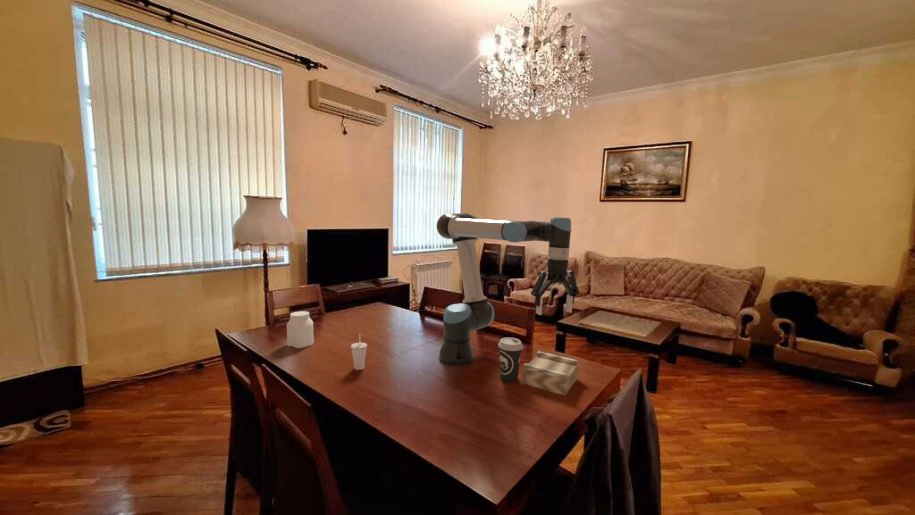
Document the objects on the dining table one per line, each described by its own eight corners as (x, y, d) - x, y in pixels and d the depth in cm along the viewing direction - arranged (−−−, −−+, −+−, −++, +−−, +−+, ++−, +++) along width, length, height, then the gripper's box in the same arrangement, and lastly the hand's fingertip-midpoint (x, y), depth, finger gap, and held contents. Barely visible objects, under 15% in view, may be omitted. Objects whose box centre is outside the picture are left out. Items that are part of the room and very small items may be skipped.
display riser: (522, 383, 131) (523, 364, 130) (537, 368, 144) (538, 351, 143) (565, 395, 122) (566, 375, 121) (577, 378, 135) (578, 360, 135)
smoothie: (370, 366, 143) (370, 333, 141) (360, 372, 137) (359, 338, 135) (358, 363, 145) (358, 331, 144) (347, 369, 140) (347, 335, 138)
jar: (317, 343, 167) (316, 313, 166) (299, 349, 159) (298, 317, 157) (301, 338, 173) (300, 309, 171) (283, 344, 165) (282, 314, 163)
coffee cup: (521, 385, 129) (523, 346, 127) (495, 382, 131) (496, 344, 129) (521, 374, 138) (523, 337, 137) (497, 371, 140) (499, 335, 139)
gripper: (534, 260, 123) (530, 318, 126) (591, 259, 132) (586, 313, 134) (524, 257, 130) (520, 312, 133) (578, 256, 139) (574, 308, 141)
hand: (553, 313), depth 134 cm, fingers open, 13 cm apart
